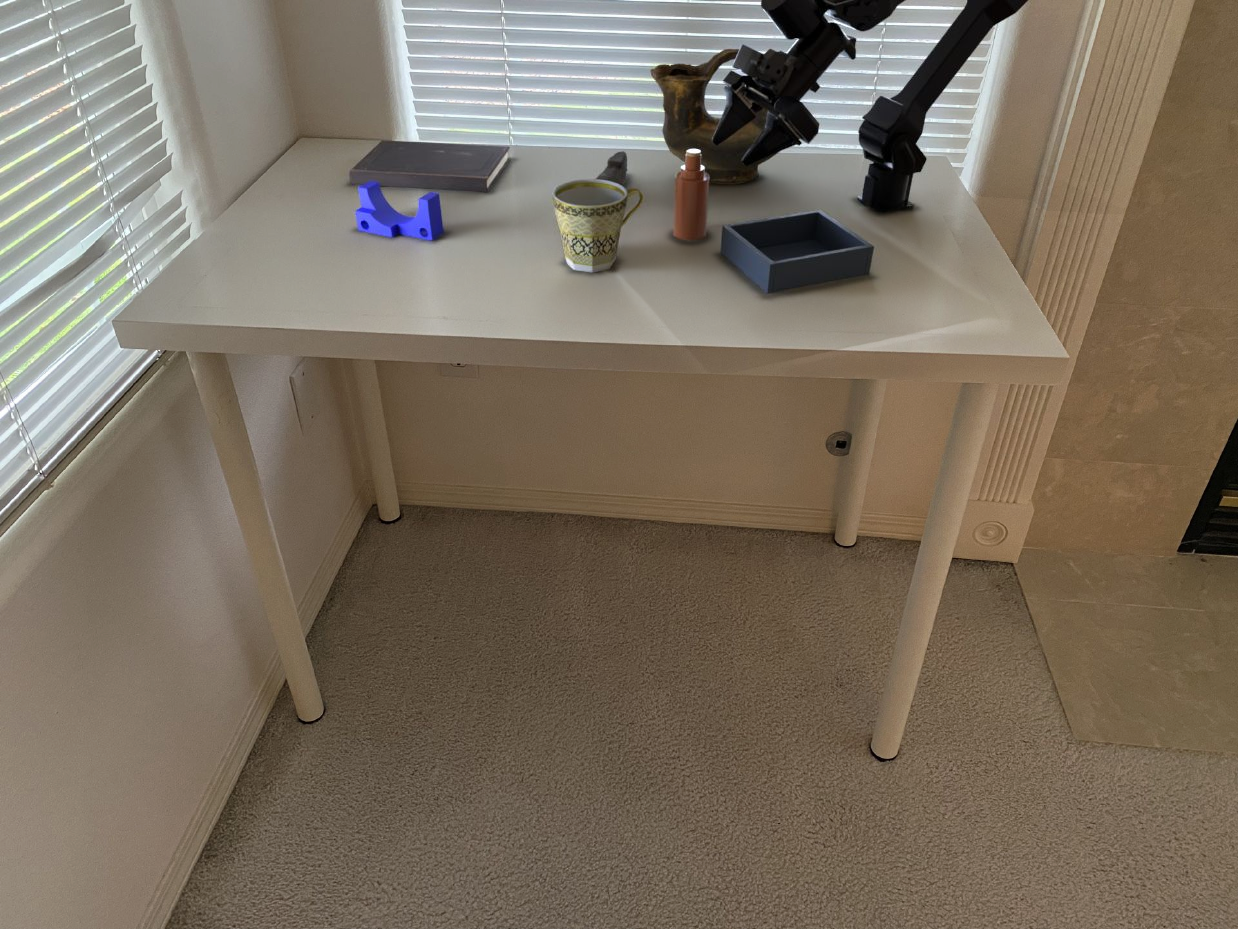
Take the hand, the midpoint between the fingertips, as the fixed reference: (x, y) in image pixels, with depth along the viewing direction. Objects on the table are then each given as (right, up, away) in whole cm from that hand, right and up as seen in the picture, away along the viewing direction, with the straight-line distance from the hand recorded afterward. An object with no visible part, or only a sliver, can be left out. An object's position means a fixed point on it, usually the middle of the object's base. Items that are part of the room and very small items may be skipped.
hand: (728, 153), depth 132 cm
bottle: (-5, -10, +5) cm, 13 cm away
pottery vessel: (+2, +5, +26) cm, 26 cm away
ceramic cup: (-18, -16, -1) cm, 24 cm away
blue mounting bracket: (-48, -10, +6) cm, 49 cm away
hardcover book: (-47, +5, +26) cm, 54 cm away
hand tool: (-18, -1, +18) cm, 26 cm away
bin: (+9, -17, -3) cm, 19 cm away
